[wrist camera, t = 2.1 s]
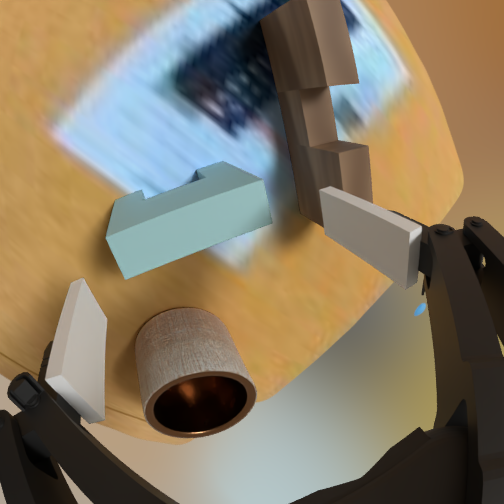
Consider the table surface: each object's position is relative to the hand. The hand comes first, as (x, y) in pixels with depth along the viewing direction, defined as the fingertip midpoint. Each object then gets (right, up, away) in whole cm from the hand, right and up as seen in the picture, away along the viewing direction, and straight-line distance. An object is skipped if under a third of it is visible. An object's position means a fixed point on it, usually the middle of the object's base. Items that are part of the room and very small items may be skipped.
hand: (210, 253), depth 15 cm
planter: (-6, -10, +17) cm, 21 cm away
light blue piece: (-5, +5, +10) cm, 12 cm away
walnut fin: (+6, +13, +11) cm, 18 cm away
